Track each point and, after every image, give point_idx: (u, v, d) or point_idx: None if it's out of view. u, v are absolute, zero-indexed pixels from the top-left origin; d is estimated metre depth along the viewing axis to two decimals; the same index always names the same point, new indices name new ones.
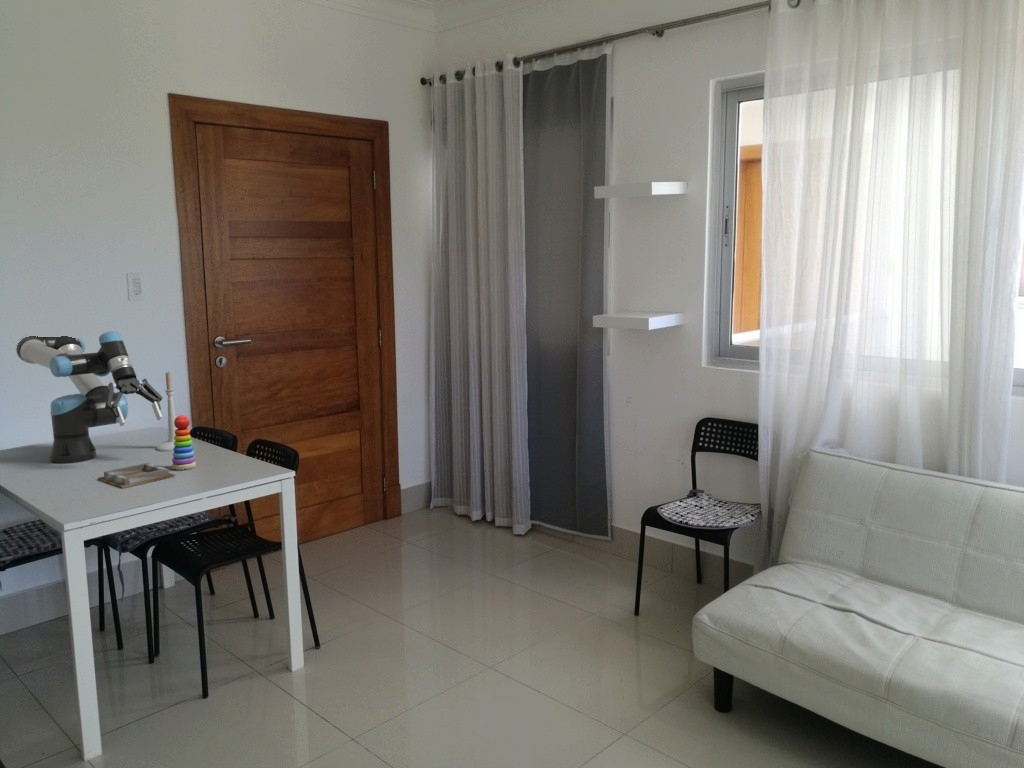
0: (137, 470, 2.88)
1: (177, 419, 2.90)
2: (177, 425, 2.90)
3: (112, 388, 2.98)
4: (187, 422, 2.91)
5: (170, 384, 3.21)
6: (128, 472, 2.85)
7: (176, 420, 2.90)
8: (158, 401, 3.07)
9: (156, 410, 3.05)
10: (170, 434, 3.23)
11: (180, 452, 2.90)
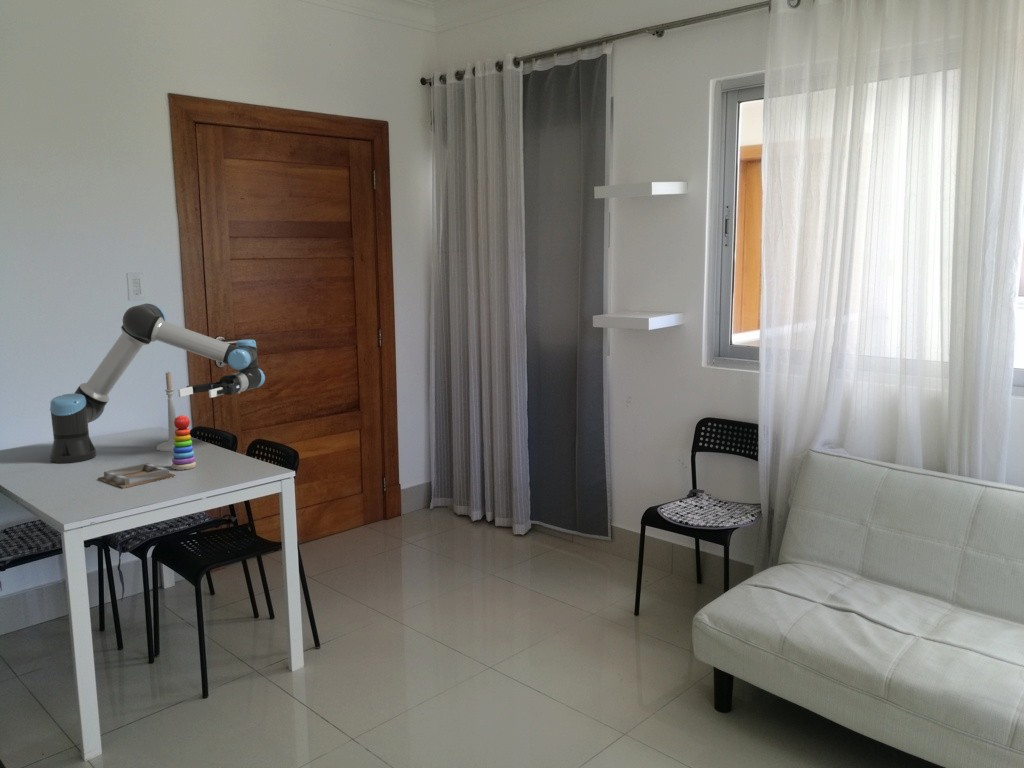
0: (137, 470, 2.88)
1: (177, 419, 2.90)
2: (177, 425, 2.90)
3: (235, 390, 3.09)
4: (187, 422, 2.91)
5: (170, 384, 3.21)
6: (128, 472, 2.85)
7: (176, 420, 2.90)
8: None
9: (186, 393, 3.04)
10: (170, 434, 3.23)
11: (180, 452, 2.90)
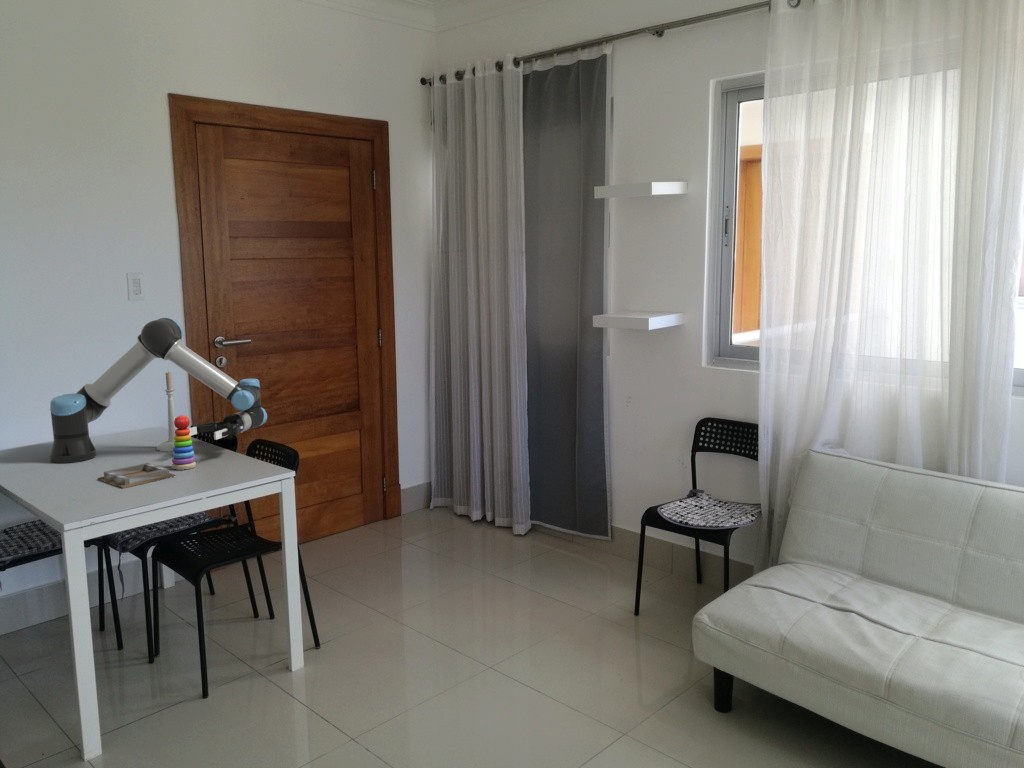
0: (137, 470, 2.88)
1: (177, 419, 2.90)
2: (177, 425, 2.90)
3: None
4: (187, 422, 2.91)
5: (170, 384, 3.21)
6: (128, 472, 2.85)
7: (176, 420, 2.90)
8: None
9: (190, 433, 3.06)
10: (170, 434, 3.23)
11: (180, 452, 2.90)
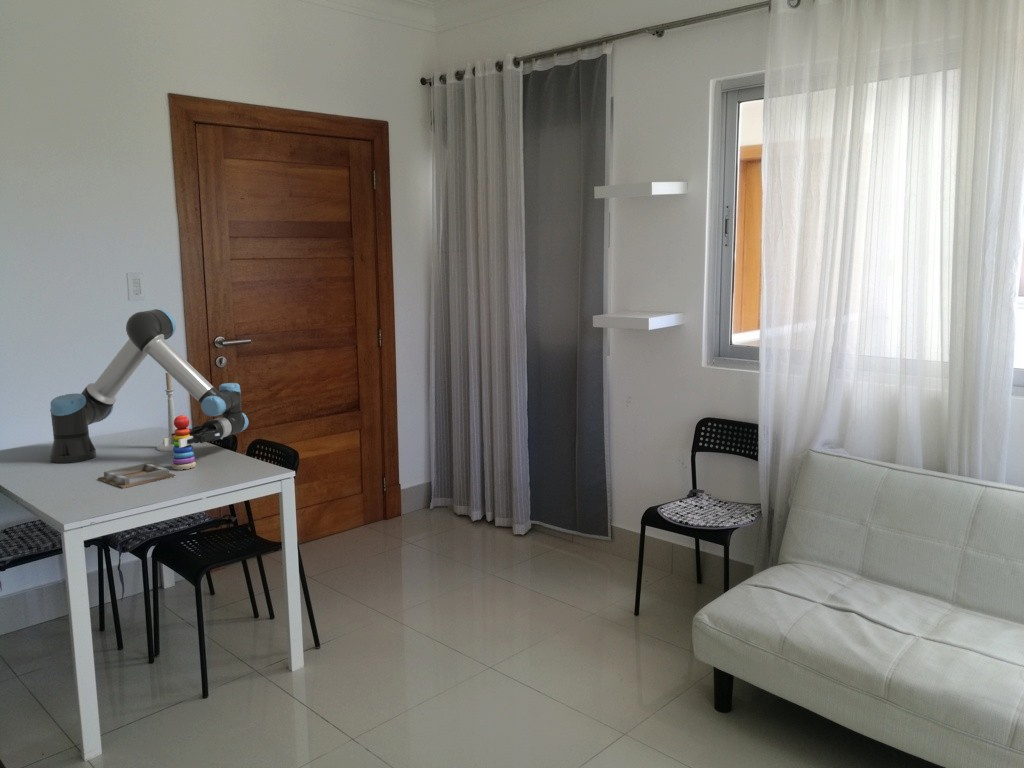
0: (137, 470, 2.88)
1: (177, 419, 2.90)
2: (177, 425, 2.90)
3: None
4: (187, 422, 2.91)
5: (170, 384, 3.21)
6: (128, 472, 2.85)
7: (176, 420, 2.90)
8: None
9: (171, 442, 2.92)
10: (170, 434, 3.23)
11: (180, 452, 2.90)
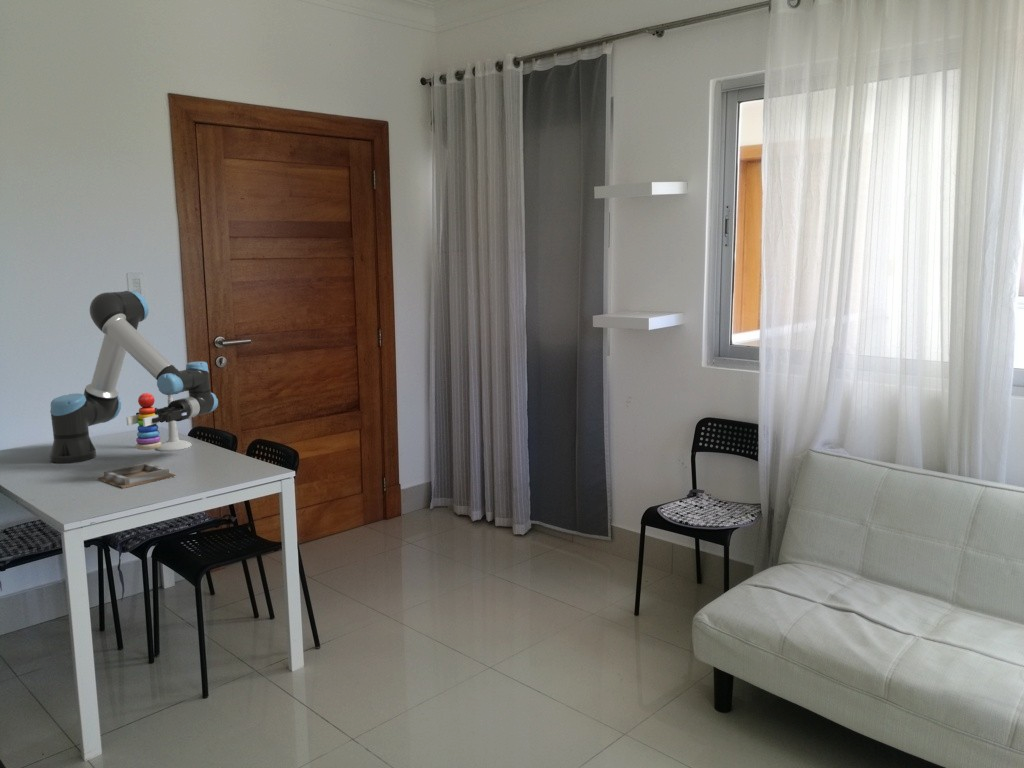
0: (137, 470, 2.88)
1: (141, 397, 2.79)
2: (141, 403, 2.78)
3: None
4: (152, 400, 2.80)
5: None
6: (128, 472, 2.85)
7: (140, 398, 2.79)
8: None
9: (135, 421, 2.80)
10: (170, 434, 3.23)
11: (144, 431, 2.79)
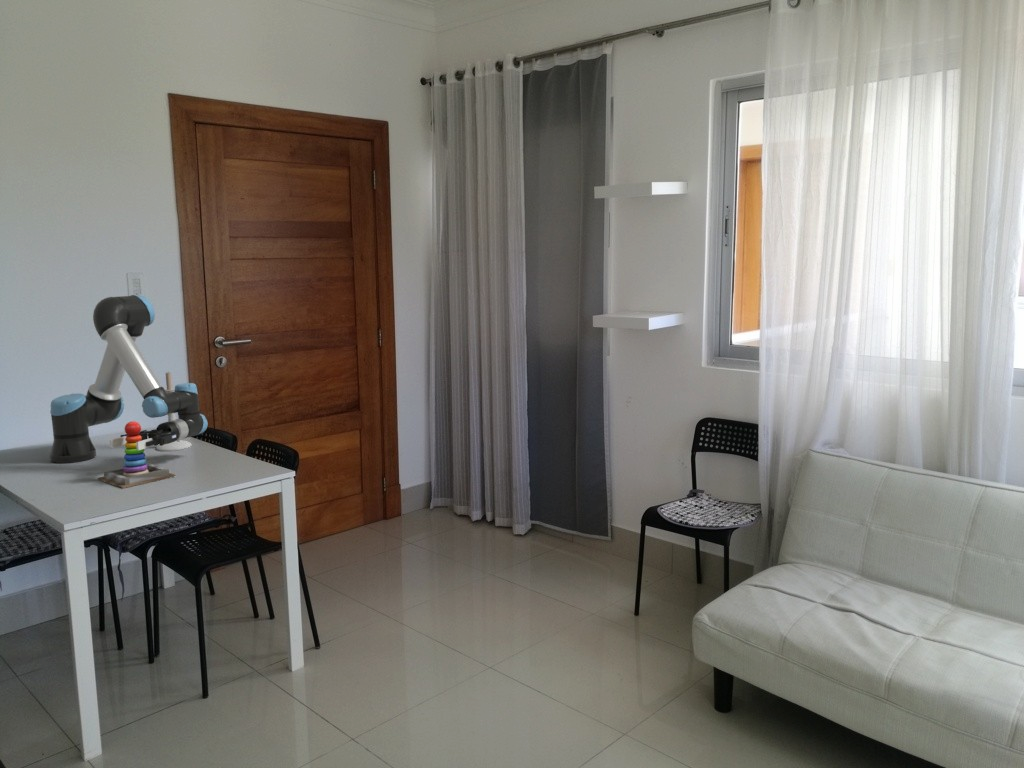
0: None
1: (127, 425, 2.77)
2: (127, 432, 2.77)
3: None
4: (138, 428, 2.78)
5: (170, 384, 3.21)
6: None
7: (126, 426, 2.77)
8: None
9: (119, 443, 2.80)
10: None
11: (131, 460, 2.77)
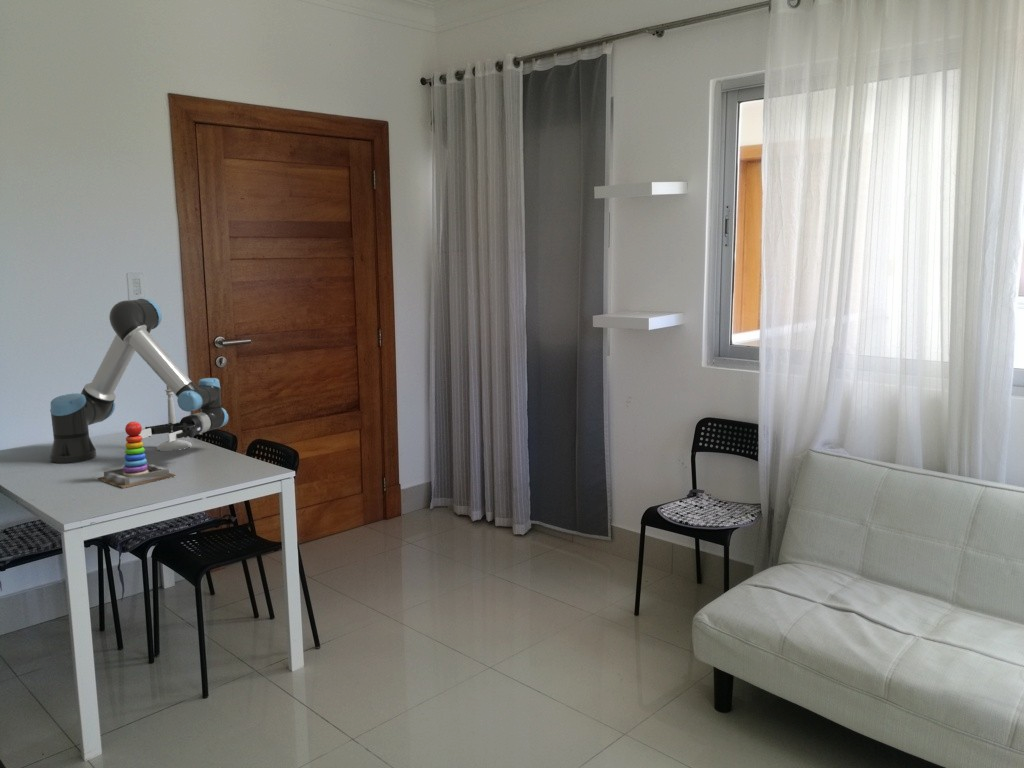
0: None
1: (128, 425, 2.77)
2: (128, 432, 2.77)
3: None
4: (139, 429, 2.78)
5: None
6: None
7: (127, 426, 2.77)
8: None
9: (144, 435, 2.93)
10: None
11: (131, 460, 2.77)
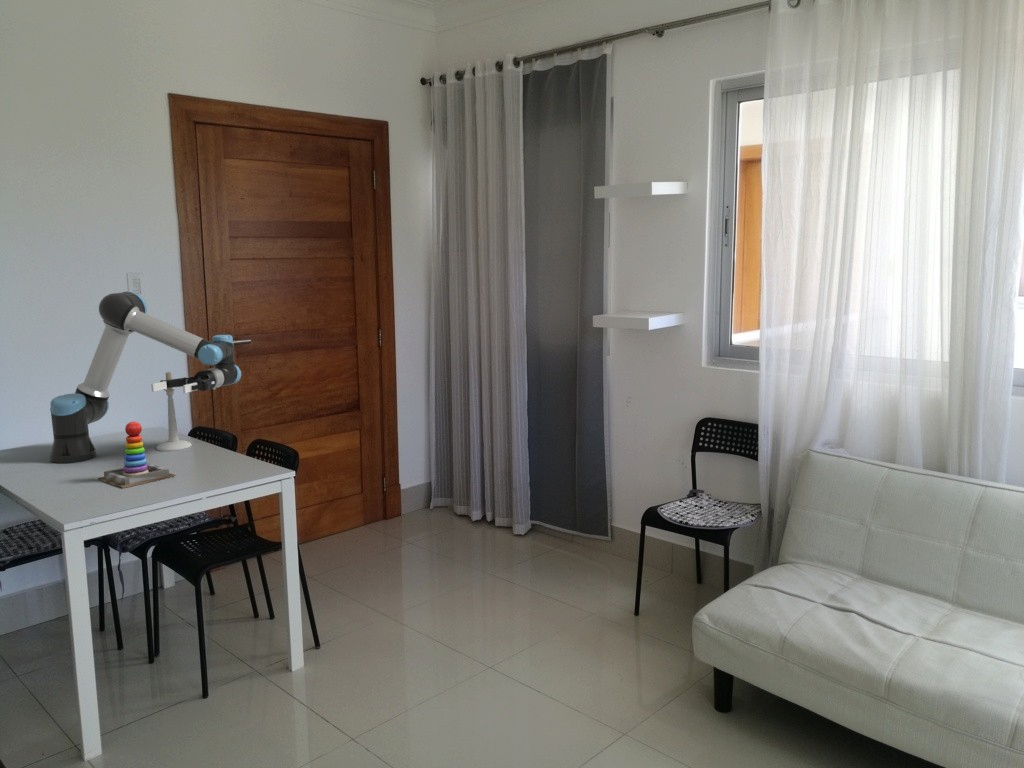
0: None
1: (128, 425, 2.77)
2: (128, 432, 2.77)
3: None
4: (139, 429, 2.78)
5: None
6: None
7: (127, 426, 2.77)
8: None
9: (160, 387, 2.97)
10: (170, 434, 3.23)
11: (131, 460, 2.77)
